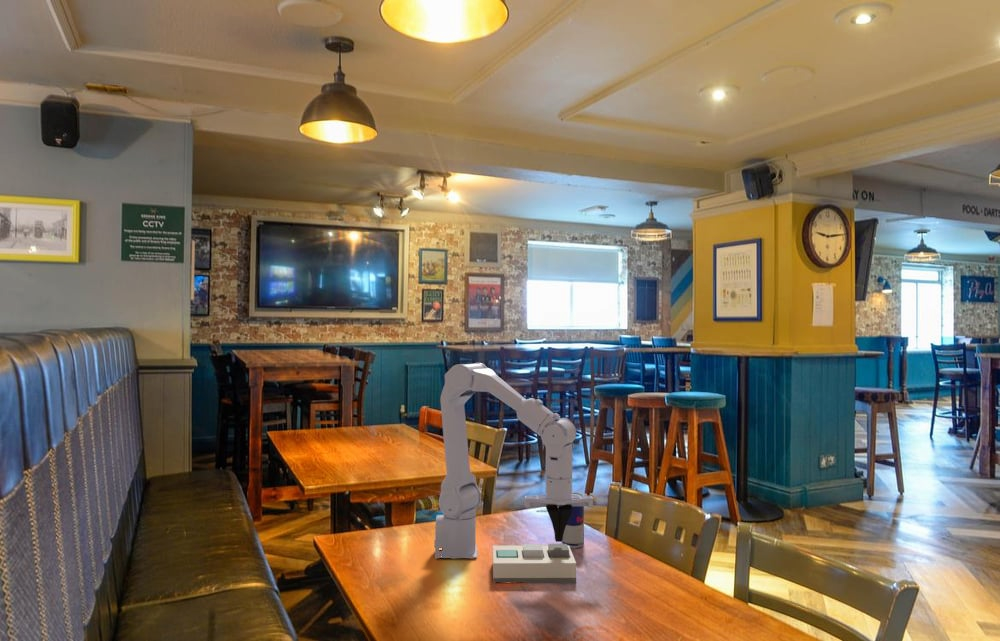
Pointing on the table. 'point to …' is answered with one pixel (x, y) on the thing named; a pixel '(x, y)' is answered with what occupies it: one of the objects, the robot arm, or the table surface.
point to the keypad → (533, 567)
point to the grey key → (532, 551)
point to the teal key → (507, 554)
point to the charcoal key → (558, 551)
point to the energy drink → (575, 527)
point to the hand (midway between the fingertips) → (558, 540)
